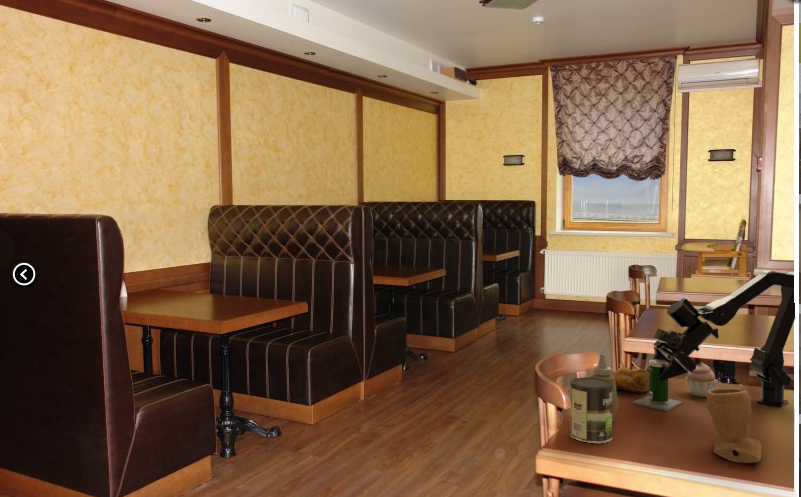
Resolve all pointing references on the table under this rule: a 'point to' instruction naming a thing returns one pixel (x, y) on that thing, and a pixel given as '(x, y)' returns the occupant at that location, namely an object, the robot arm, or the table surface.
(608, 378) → the squeeze bottle
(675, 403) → the coaster
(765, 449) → the table surface
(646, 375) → the bread roll
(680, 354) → the robot arm
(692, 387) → the cupcake
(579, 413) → the coffee can
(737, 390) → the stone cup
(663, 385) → the guarana soda can
